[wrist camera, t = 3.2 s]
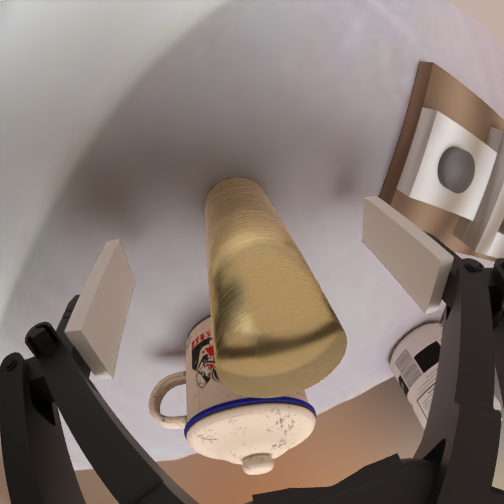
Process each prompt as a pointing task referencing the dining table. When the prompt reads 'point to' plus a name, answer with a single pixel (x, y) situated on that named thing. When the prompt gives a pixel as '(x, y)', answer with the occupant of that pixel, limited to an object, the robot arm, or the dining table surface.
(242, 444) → the teacup with lid
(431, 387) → the supplement can
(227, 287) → the brass pin
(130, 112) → the dining table surface
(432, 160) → the pin insertion fixture
